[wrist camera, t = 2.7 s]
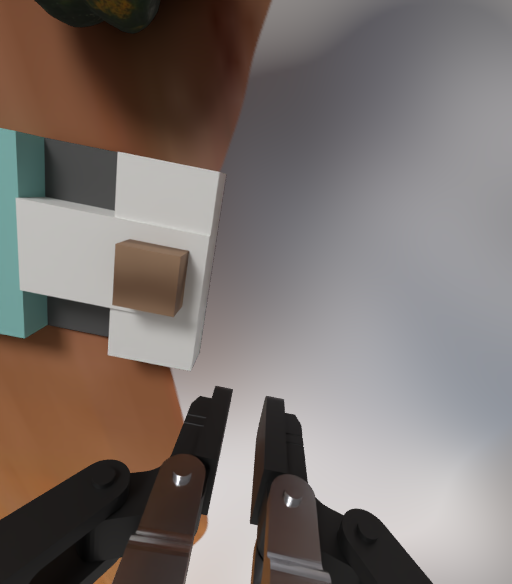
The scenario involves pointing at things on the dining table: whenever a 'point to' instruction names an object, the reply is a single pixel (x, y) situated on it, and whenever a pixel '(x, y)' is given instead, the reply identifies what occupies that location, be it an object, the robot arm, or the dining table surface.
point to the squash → (103, 12)
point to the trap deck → (101, 242)
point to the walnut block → (149, 277)
